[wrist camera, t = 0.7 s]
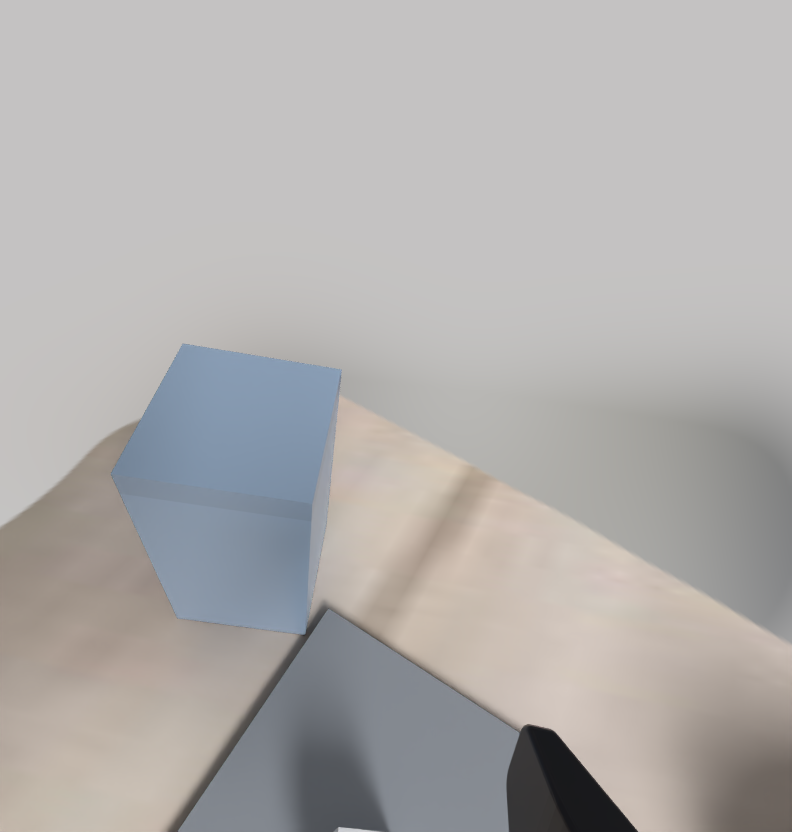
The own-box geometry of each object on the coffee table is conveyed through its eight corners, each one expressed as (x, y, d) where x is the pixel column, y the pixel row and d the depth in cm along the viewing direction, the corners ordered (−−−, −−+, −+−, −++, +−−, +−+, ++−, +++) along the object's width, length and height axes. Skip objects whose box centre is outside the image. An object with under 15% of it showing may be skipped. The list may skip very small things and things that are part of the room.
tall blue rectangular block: (305, 634, 23) (312, 503, 14) (177, 618, 22) (110, 473, 14) (332, 491, 28) (349, 334, 20) (228, 475, 27) (201, 309, 19)
